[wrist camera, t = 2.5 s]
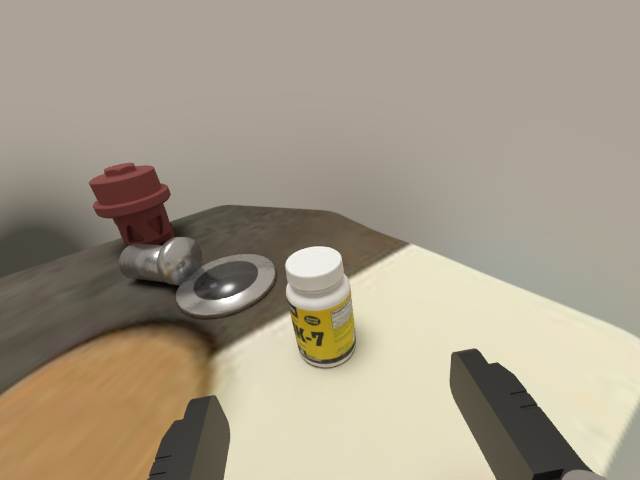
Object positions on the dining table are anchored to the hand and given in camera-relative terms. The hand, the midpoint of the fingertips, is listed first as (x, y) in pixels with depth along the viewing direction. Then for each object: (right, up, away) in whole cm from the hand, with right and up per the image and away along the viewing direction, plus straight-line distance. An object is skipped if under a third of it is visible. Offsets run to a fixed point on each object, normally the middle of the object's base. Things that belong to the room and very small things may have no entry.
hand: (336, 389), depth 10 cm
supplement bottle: (0, -4, +15) cm, 15 cm away
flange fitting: (-15, 0, +26) cm, 30 cm away
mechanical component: (-27, +4, +38) cm, 47 cm away
